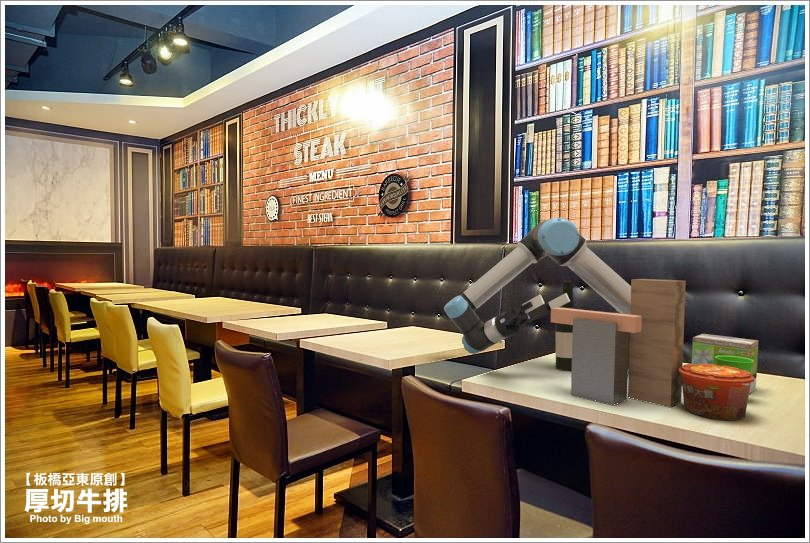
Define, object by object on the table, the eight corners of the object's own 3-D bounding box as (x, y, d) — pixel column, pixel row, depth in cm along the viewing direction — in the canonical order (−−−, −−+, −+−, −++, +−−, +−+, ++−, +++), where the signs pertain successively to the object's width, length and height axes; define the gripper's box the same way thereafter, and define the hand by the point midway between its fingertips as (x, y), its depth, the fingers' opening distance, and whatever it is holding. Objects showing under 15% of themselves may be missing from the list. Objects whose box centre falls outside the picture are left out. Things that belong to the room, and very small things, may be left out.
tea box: (689, 385, 153) (691, 336, 152) (699, 379, 160) (701, 332, 160) (749, 395, 142) (751, 343, 142) (757, 389, 149) (759, 339, 149)
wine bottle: (550, 366, 176) (550, 279, 177) (573, 366, 178) (573, 279, 178) (562, 371, 168) (561, 279, 168) (585, 370, 169) (585, 279, 170)
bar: (558, 321, 149) (558, 307, 149) (641, 331, 131) (641, 315, 131) (550, 322, 146) (551, 308, 146) (634, 332, 128) (634, 316, 128)
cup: (759, 404, 133) (761, 363, 133) (721, 402, 135) (722, 361, 135) (743, 395, 142) (745, 356, 142) (708, 393, 144) (709, 354, 144)
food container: (694, 399, 137) (696, 360, 137) (763, 415, 125) (765, 371, 124) (664, 409, 128) (666, 367, 128) (736, 428, 115) (738, 380, 115)
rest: (585, 390, 145) (587, 316, 144) (627, 400, 136) (629, 321, 135) (570, 395, 140) (573, 318, 139) (613, 405, 131) (615, 323, 130)
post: (639, 393, 143) (643, 278, 142) (681, 402, 135) (685, 280, 133) (627, 397, 138) (631, 279, 137) (670, 407, 130) (674, 281, 129)
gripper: (529, 334, 168) (582, 307, 154) (481, 341, 152) (535, 312, 138) (520, 313, 171) (572, 285, 157) (472, 318, 154) (524, 287, 140)
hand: (555, 298), depth 147 cm, fingers open, 13 cm apart
